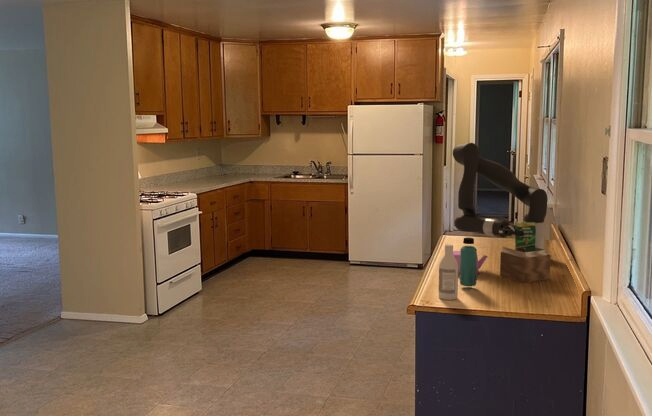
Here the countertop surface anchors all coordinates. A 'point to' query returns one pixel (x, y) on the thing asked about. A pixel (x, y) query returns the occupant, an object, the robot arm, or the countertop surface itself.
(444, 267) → the bath foam
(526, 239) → the coffee box
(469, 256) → the beverage bottle
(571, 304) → the countertop surface
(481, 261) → the teapot
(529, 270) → the walnut stand
